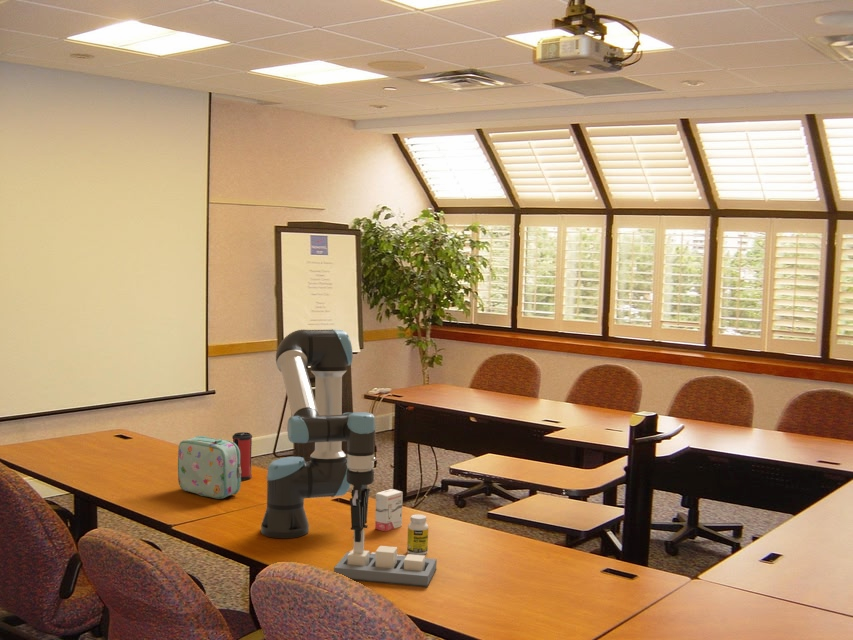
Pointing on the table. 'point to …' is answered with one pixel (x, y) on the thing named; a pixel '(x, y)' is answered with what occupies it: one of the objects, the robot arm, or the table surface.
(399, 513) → the ink box
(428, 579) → the board
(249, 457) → the red travel mug
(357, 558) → the button left
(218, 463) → the lunch box
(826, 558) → the table surface
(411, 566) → the button right
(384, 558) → the button middle
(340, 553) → the table surface
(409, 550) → the pill bottle
